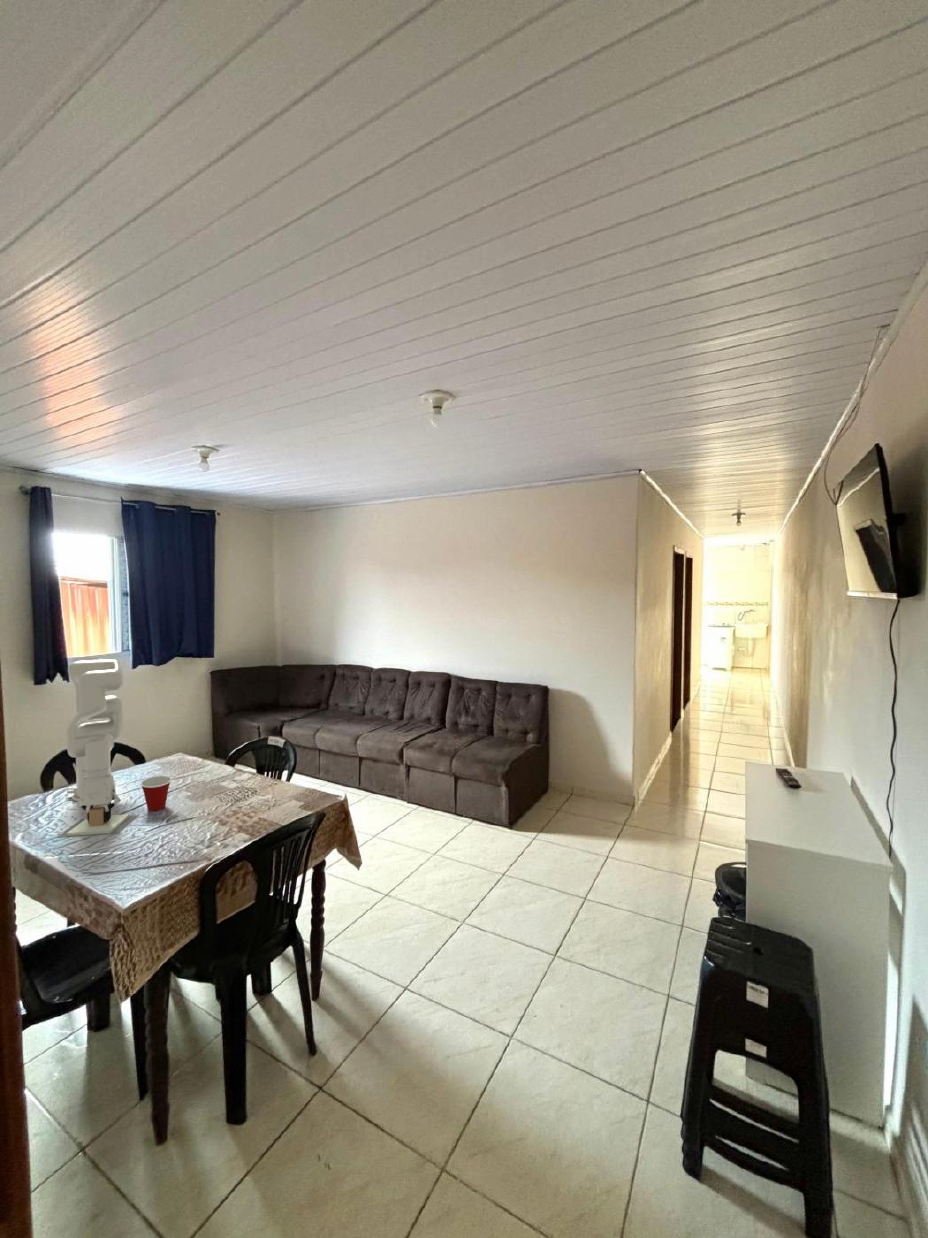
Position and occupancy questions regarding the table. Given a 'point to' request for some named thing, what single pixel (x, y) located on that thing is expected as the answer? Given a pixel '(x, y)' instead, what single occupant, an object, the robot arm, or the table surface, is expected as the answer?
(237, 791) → the table surface
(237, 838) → the table surface
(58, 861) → the table surface
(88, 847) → the table surface
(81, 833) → the lid
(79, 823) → the mat
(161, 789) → the plastic cup
